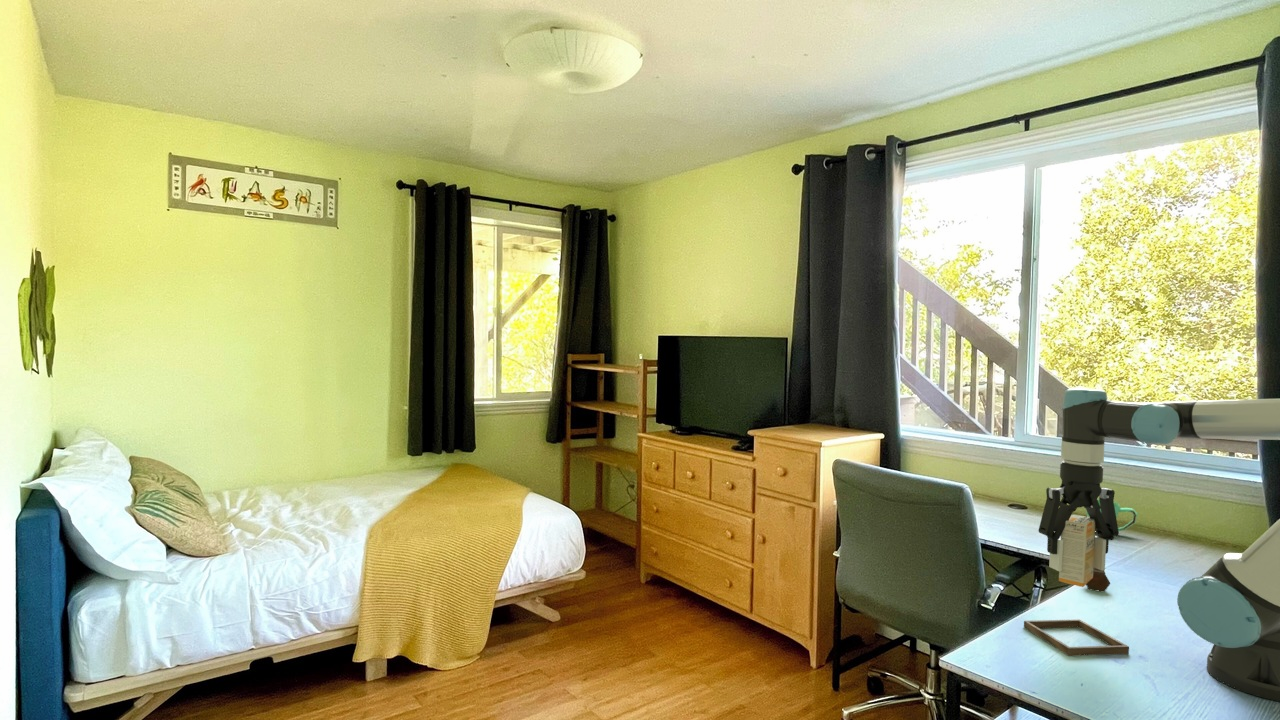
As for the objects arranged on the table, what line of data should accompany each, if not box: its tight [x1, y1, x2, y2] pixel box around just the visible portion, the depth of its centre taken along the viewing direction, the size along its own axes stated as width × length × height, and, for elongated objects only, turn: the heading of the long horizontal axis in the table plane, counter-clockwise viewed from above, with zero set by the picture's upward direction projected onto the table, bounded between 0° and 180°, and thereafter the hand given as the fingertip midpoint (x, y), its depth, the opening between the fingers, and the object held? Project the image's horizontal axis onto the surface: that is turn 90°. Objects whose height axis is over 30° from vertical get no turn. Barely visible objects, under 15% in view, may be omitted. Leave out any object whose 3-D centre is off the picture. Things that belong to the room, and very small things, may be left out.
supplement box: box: [1058, 514, 1096, 588], centre depth 141 cm, size 8×5×13 cm, turn 135°
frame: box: [1023, 619, 1130, 657], centre depth 141 cm, size 13×13×2 cm
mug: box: [1085, 499, 1139, 532], centre depth 225 cm, size 15×10×10 cm
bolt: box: [1085, 568, 1111, 592], centre depth 177 cm, size 6×5×15 cm
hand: (1076, 568), depth 141 cm, fingers closed on supplement box, 9 cm apart
